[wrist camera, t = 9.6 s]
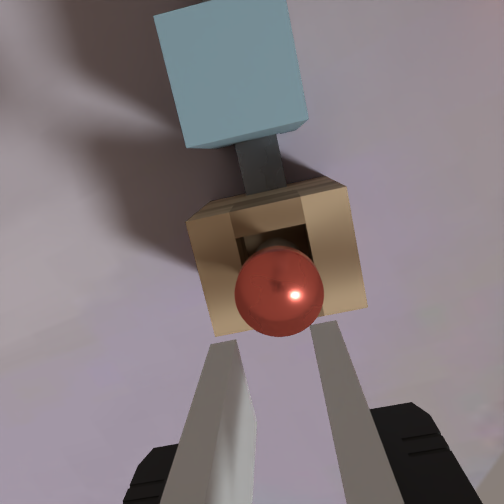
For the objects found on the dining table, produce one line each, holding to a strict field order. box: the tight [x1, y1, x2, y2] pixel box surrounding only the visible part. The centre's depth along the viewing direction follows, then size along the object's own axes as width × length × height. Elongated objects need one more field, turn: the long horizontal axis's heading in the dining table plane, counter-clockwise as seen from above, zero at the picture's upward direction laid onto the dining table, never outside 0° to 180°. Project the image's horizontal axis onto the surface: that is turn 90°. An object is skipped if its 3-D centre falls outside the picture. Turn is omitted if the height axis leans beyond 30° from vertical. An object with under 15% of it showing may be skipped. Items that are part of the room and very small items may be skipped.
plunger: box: [234, 238, 324, 337], centre depth 23 cm, size 4×4×6 cm
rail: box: [202, 0, 287, 196], centre depth 30 cm, size 24×3×2 cm, turn 13°
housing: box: [185, 176, 368, 337], centre depth 30 cm, size 7×9×10 cm
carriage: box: [153, 0, 309, 149], centre depth 26 cm, size 6×6×12 cm
